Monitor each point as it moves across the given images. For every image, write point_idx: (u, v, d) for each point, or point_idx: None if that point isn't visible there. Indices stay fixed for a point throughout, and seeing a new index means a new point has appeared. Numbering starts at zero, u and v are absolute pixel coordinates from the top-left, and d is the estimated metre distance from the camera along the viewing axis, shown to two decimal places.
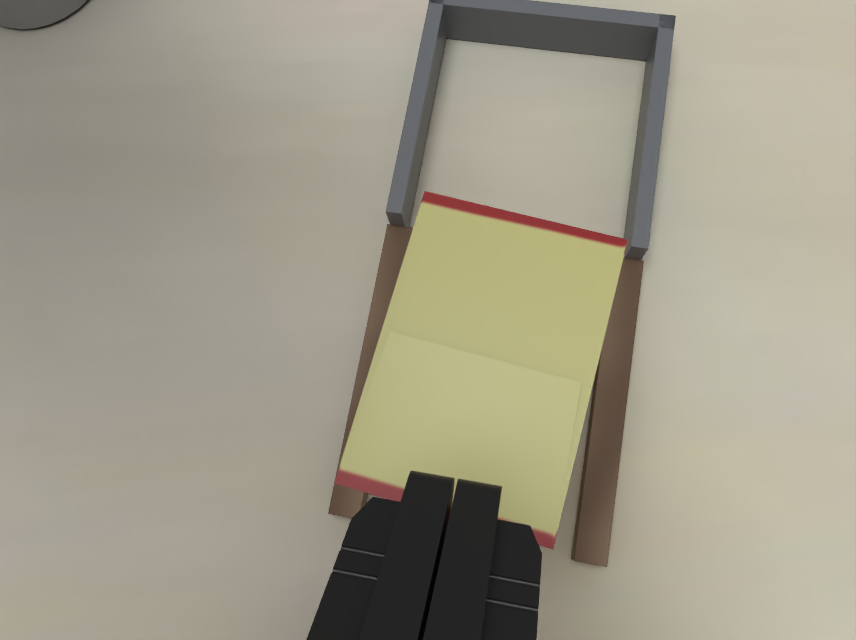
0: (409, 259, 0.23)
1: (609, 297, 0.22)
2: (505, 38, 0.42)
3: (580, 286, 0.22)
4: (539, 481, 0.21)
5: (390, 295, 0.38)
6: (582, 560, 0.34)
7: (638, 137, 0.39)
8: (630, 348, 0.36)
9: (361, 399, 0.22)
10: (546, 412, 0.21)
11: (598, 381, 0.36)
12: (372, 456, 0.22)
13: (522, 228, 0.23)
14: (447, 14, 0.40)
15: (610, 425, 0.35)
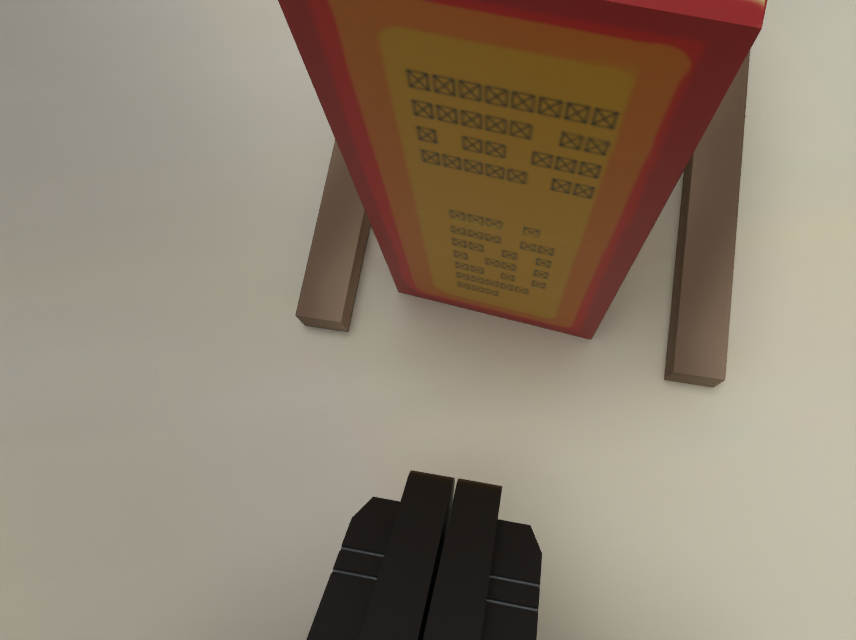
0: None
1: None
2: None
3: None
4: None
5: None
6: (686, 371, 0.22)
7: None
8: (744, 74, 0.24)
9: None
10: None
11: None
12: None
13: None
14: None
15: (719, 179, 0.23)
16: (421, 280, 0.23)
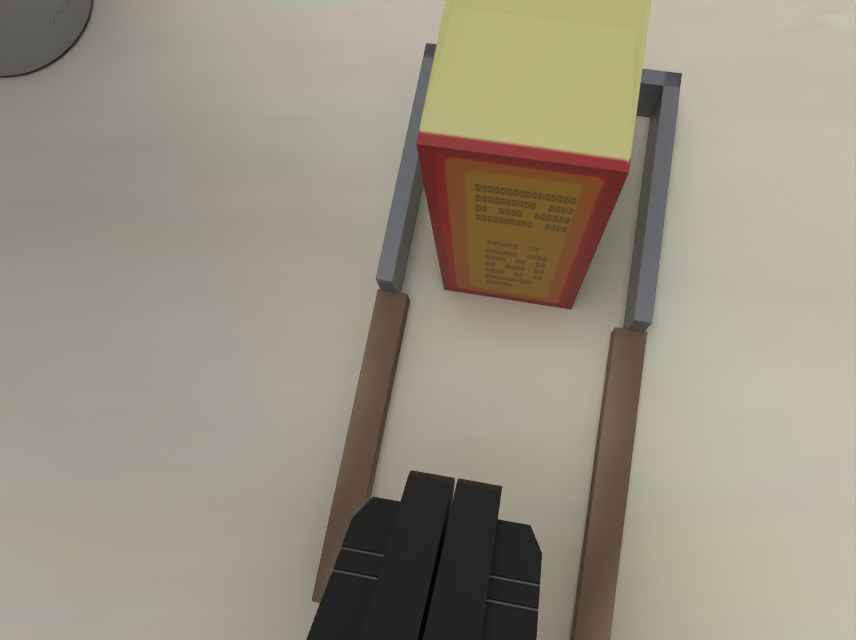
0: None
1: None
2: None
3: None
4: (608, 117, 0.22)
5: (380, 365, 0.36)
6: None
7: (642, 199, 0.37)
8: (632, 426, 0.34)
9: (432, 72, 0.23)
10: (607, 59, 0.23)
11: (598, 461, 0.34)
12: (449, 117, 0.23)
13: None
14: None
15: (611, 509, 0.33)
16: (461, 281, 0.36)
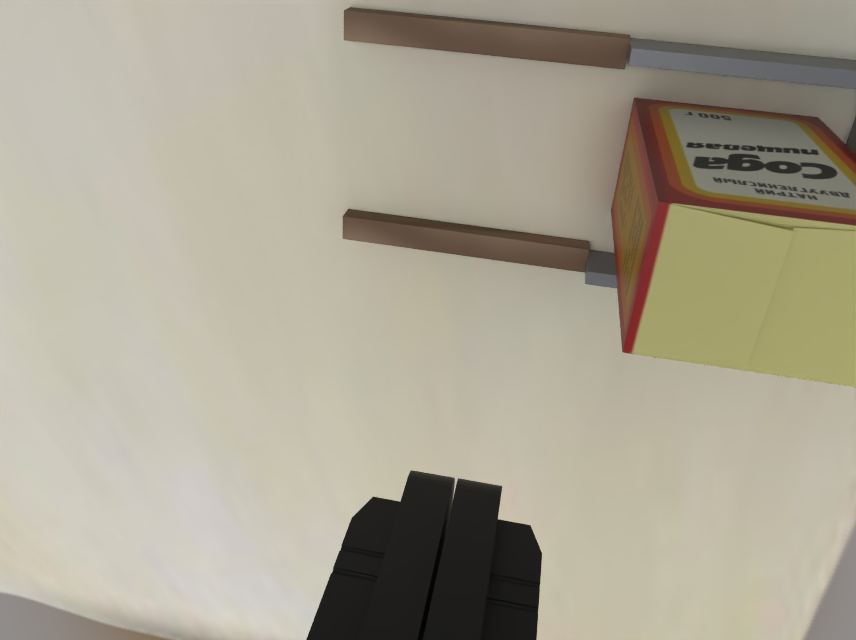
0: None
1: (818, 378, 0.29)
2: None
3: (828, 359, 0.28)
4: (669, 342, 0.29)
5: (552, 49, 0.38)
6: (344, 222, 0.45)
7: None
8: (508, 259, 0.44)
9: (731, 211, 0.26)
10: (723, 344, 0.29)
11: (480, 235, 0.44)
12: (681, 227, 0.27)
13: None
14: None
15: (445, 243, 0.45)
16: (632, 125, 0.39)
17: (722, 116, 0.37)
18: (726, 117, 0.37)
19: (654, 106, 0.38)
